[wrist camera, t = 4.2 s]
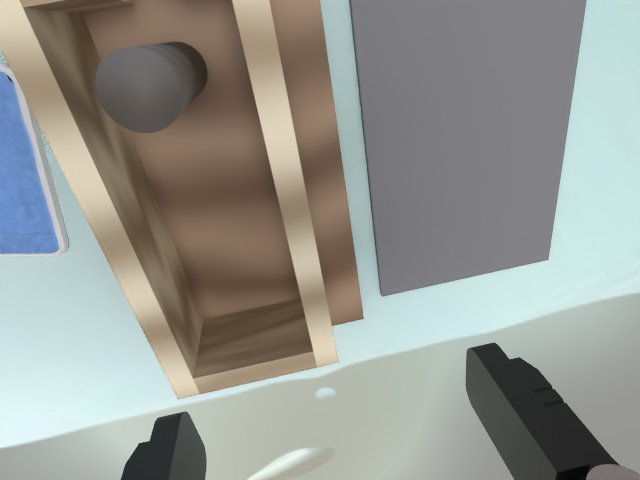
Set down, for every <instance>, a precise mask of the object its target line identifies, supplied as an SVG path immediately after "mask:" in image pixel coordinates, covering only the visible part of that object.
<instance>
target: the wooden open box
mask: <svg viewBox="0 0 640 480" xmlns="http://www.w3.org/2000/svg"><path fill="white" fill-rule="evenodd" d="M232 2H233V6H234V11H235V15H236V19H237V23H238V28H239V32H240V36H241V41H242V45H243V49H244V54H245V58H246V62H247V67H248V71H249V75H250V80H251V84H252V88H253V93H254V97H255V101H256V106H257V110H258V114H259V118H260V123H261V127H262V131H263V136H264V140H265V144H266V149H267V153H268V157H269V162H270V166H271V170H272V175H273V179H274V183H275V188H276V192H277V196H278V201H279V205H280V209H281V213H282V218H283V222H284V226H285V231H286V235H287V239H288V244H289V248H290V252H291V257H292V261H293V265H294V270H295V274H296V278H297V283H298V287H299V291H300V296H301V298H299V299H295V300H290V301H285V302H281V303H276V304H272V305H267V306H263V307H258V308H254V309H249V310H244V311H240V312H235V313H231V314H226V315H222V316H217V317H213V318H208V319H204V318H203V316H202V313H201V311H200V308H199V306H198V303H197V301H196V298H195V296H194V293H193V291H192V288H191V286H190V283H189V281H188V278H187V276H186V273H185V271H184V268H183V266H182V263H181V261H180V258H179V256H178V253H177V251H176V248H175V246H174V243H173V240H172V238H171V235H170V233H169V230H168V228H167V225H166V223H165V220H164V218H163V215H162V213H161V210H160V208H159V205H158V203H157V200H156V198H155V195H154V193H153V190H152V188H151V185H150V183H149V180H148V178H147V175H146V173H145V170H144V167H143V165H142V162H141V160H140V157H139V155H138V152H137V150H136V147H135V145H134V142H133V140H132V137H131V135H130V132H129V130H128V129H126V128H124V127H122V126H121V125H119V124H118V123H116V122H115V121H114V120H113V119H112V118H111V117H110V116H109V115H108V114H107V113H106V112H105V110H104V109H103V107H102V106H101V104H100V101H99V99H98V96H97V93H96V88H95V77H96V72H97V69H98V67H99V65H100V63H101V59H100V57H99V54H98V52H97V49H96V47H95V44H94V42H93V39H92V37H91V34H90V32H89V29H88V27H87V24H86V21H85V19H84V16H83V14H84V13H89V12H95V11H100V10H106V9H112V8H117V7H123V6H128V5H134V4H136V3H135V0H0V48H1V50H2V52H3V54H4V56H5V58H6V60H7V62H8V64H9V66H10V68H11V70H12V72H13V74H14V76H15V78H16V80H17V82H18V84H19V86H20V88H21V90H22V92H23V94H24V96H25V98H26V100H27V102H28V104H29V106H30V108H31V110H32V112H33V114H34V116H35V118H36V120H37V122H38V124H39V126H40V128H41V130H42V132H43V134H44V135H45V137H46V139H47V141H48V143H49V145H50V147H51V149H52V151H53V153H54V155H55V157H56V159H57V161H58V163H59V165H60V167H61V169H62V171H63V173H64V175H65V177H66V179H67V181H68V183H69V185H70V187H71V189H72V191H73V193H74V195H75V197H76V199H77V201H78V203H79V205H80V207H81V209H82V211H83V213H84V215H85V217H86V219H87V221H88V223H89V225H90V227H91V229H92V231H93V232H94V234H95V236H96V238H97V240H98V242H99V244H100V246H101V248H102V250H103V252H104V254H105V256H106V258H107V260H108V262H109V264H110V266H111V268H112V270H113V272H114V274H115V276H116V278H117V280H118V282H119V284H120V286H121V288H122V290H123V292H124V294H125V296H126V298H127V300H128V302H129V304H130V306H131V308H132V310H133V312H134V314H135V316H136V318H137V320H138V322H139V324H140V326H141V328H142V329H143V331H144V333H145V335H146V337H147V339H148V341H149V343H150V345H151V347H152V349H153V351H154V353H155V355H156V357H157V359H158V361H159V363H160V365H161V367H162V369H163V371H164V373H165V375H166V377H167V379H168V381H169V383H170V385H171V387H172V389H173V391H174V393H175V395H176V397H177V399H181V398H186V397H190V396H195V395H199V394H203V393H208V392H212V391H216V390H221V389H225V388H230V387H234V386H238V385H243V384H247V383H252V382H256V381H260V380H265V379H269V378H273V377H278V376H282V375H287V374H291V373H295V372H300V371H304V370H308V369H313V368H317V367H322V366H326V365H330V364H335V363H339V361H338V356H337V351H336V346H335V340H334V335H333V330H332V325H331V320H330V314H329V309H328V304H327V299H326V294H325V288H324V283H323V278H322V273H321V268H320V262H319V257H318V252H317V247H316V241H315V236H314V231H313V226H312V221H311V215H310V210H309V205H308V200H307V195H306V189H305V184H304V179H303V174H302V169H301V163H300V158H299V153H298V148H297V143H296V137H295V132H294V127H293V122H292V116H291V111H290V106H289V101H288V96H287V90H286V85H285V80H284V75H283V70H282V64H281V59H280V54H279V49H278V44H277V38H276V33H275V28H274V23H273V17H272V12H271V7H270V2H269V0H232Z"/></svg>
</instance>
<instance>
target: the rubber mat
mask: <svg viewBox="0 0 640 480" xmlns="http://www.w3.org/2000/svg"><path fill="white" fill-rule="evenodd" d="M585 7H586V0H350V9H351V18H352V27H353V37H354V46H355V56H356V65H357V75H358V84H359V93H360V103H361V112H362V122H363V131H364V141H365V150H366V160H367V169H368V178H369V188H370V197H371V207H372V216H373V226H374V235H375V244H376V254H377V263H378V273H379V282H380V292H381V295H382V296H387V295H391V294H396V293H401V292H405V291H410V290H414V289H419V288H423V287H428V286H432V285H437V284H441V283H446V282H450V281H455V280H459V279H464V278H468V277H473V276H477V275H482V274H486V273H491V272H495V271H500V270H504V269H509V268H513V267H518V266H523V265H527V264H532V263H536V262H541V261H545V260H548V258H549V252H550V245H551V238H552V231H553V224H554V218H555V211H556V204H557V197H558V190H559V184H560V177H561V170H562V163H563V156H564V150H565V143H566V136H567V129H568V122H569V116H570V109H571V102H572V95H573V88H574V82H575V75H576V68H577V61H578V55H579V48H580V41H581V34H582V27H583V21H584V14H585Z"/></svg>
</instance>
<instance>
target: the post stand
mask: <svg viewBox="0 0 640 480" xmlns="http://www.w3.org/2000/svg"><path fill="white" fill-rule="evenodd" d="M269 2H270V7H271V12H272V17H273V23H274V28H275V33H276V38H277V44H278V49H279V54H280V59H281V64H282V70H283V75H284V80H285V85H286V90H287V96H288V101H289V106H290V111H291V116H292V122H293V127H294V132H295V137H296V143H297V148H298V153H299V158H300V163H301V169H302V174H303V179H304V184H305V189H306V195H307V200H308V205H309V210H310V215H311V221H312V226H313V231H314V236H315V241H316V247H317V252H318V257H319V262H320V268H321V273H322V278H323V283H324V288H325V294H326V299H327V304H328V309H329V314H330V320H331V325H332V326H334V325H338V324H343V323H347V322H352V321H356V320H361V319H364V318H363V311H362V303H361V296H360V289H359V282H358V274H357V267H356V260H355V253H354V245H353V238H352V231H351V224H350V216H349V209H348V202H347V195H346V187H345V180H344V173H343V166H342V158H341V151H340V144H339V137H338V129H337V122H336V115H335V108H334V100H333V93H332V86H331V79H330V71H329V64H328V57H327V50H326V42H325V35H324V28H323V21H322V13H321V6H320V0H269ZM135 3H136V4H134V5H128V6H123V7H117V8H112V9H106V10H100V11H95V12H89V13H84V14H83V16H84V19H85V21H86V24H87V27H88V29H89V32H90V34H91V37H92V39H93V42H94V44H95V47H96V49H97V52H98V54H99V57H100V59H101V63H100V65H99V67H98V69H97V72H96V77H95V88H96V93H97V96H98V99H99V101H100V104H101V106H102V107H103V109H104V110H105V112H106V113H107V114H108V115H109V116H110V117H111V118H112V119H113V120H114V121H115V122H116V123H118V124H119V125H121V126H122V127H124V128H126V129H128V130H129V132H130V135H131V137H132V140H133V142H134V145H135V147H136V150H137V152H138V155H139V157H140V160H141V162H142V165H143V167H144V170H145V173H146V175H147V178H148V180H149V183H150V185H151V188H152V190H153V193H154V195H155V198H156V200H157V203H158V205H159V208H160V210H161V213H162V215H163V218H164V220H165V223H166V225H167V228H168V230H169V233H170V235H171V238H172V240H173V243H174V246H175V248H176V251H177V253H178V256H179V258H180V261H181V263H182V266H183V268H184V271H185V273H186V276H187V278H188V281H189V283H190V286H191V288H192V291H193V293H194V296H195V298H196V301H197V303H198V306H199V308H200V311H201V313H202V316H203V318H204V319H208V318H213V317H217V316H222V315H226V314H231V313H235V312H240V311H244V310H249V309H254V308H258V307H263V306H267V305H272V304H276V303H281V302H285V301H290V300H295V299H299V298H301V296H300V291H299V287H298V283H297V278H296V274H295V270H294V265H293V261H292V257H291V252H290V248H289V244H288V239H287V235H286V231H285V226H284V222H283V218H282V213H281V209H280V205H279V201H278V196H277V192H276V188H275V183H274V179H273V175H272V170H271V166H270V162H269V157H268V153H267V149H266V144H265V140H264V136H263V131H262V127H261V123H260V118H259V114H258V110H257V106H256V101H255V97H254V93H253V88H252V84H251V80H250V75H249V71H248V67H247V62H246V58H245V54H244V49H243V45H242V41H241V36H240V32H239V28H238V23H237V19H236V15H235V11H234V6H233V2H232V0H135Z"/></svg>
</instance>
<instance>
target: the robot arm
mask: <svg viewBox="0 0 640 480" xmlns="http://www.w3.org/2000/svg"><path fill="white" fill-rule="evenodd" d="M466 390H467V394H468V397H469V400H470V402H471V405H472V407H473V408H474V410H475V412H476V414H477V416H478V417H479V419H480V421H481V422H482V424H483V426H484V428H485V429H486V431H487V433H488V434H489V436H490V438H491V440H492V442H493V443H494V445H495V447H496V448H497V450H498V452H499V454H500V455H501V457H502V459H503V461H504V462H505V464H506V466H507V468H508V469H509V471H510V473H511V474H512V476H513V478H514V480H640V474H638V473H637V472H635V471H633V470H631V469H628V468H625V467H623V466H620V465H619V464H618V463H617V462H616V461H615V460H614V459H613V458H612V457H611V456H610V455H609V454H608V453H607V452H606V451H605V449H604V448H603V447H602V446H601V444H600V443H599V442H598V441H597V440H596V438H595V437H594V436H593V435H592V434H591V432H590V431H589V430H588V429H587V428H586V426H585V425H584V424H583V423H582V422H581V421H580V419H579V418H578V417H577V416H576V414H575V413H574V412H573V411H572V410H571V408H570V407H569V406H568V405H567V404H566V403H564V402H563V399H562V398H561V397H560V395H559V394H558V393H557V392H556V391H555V389H552V386H551V384H550V383H549V382H548V381H547V380H546V379H545V377H544V376H543V375H542V374H541V373H540V372H539V370H538V369H536V368H535V367H533V366H532V365H530V364H529V363H527V362H526V361H524V360H523V359H521V358H514V359H510V360H509V358H508V357H507V356H506V354H505V353H504V352H503V351H502V349H501V348H500V347H499V346H498V345H497V344H496V343H490V344H485V345H482V346H477V347H473V348H469V349H468V350H467V359H466ZM205 474H206V452H205V447H204V444H203V442H202V440H201V438H200V436H199V434H198V432H197V430H196V428H195V425H194V423H193V421H192V419H191V417H190V415H189V414H188V412H181V413H177V414H172V415H168V416H163V417H159V418H158V419H157V420H156V421H155V424H154V428H153V431H152V435H151V439H150V441H148V442H143V443H139V444H138V446H137V448H136V449H135V451H134V452H133V454H132V455H131V457H130V458H129V460H128V461H127V463H126V465H125V468H124V471H123V474H122V478H121V480H205Z"/></svg>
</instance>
